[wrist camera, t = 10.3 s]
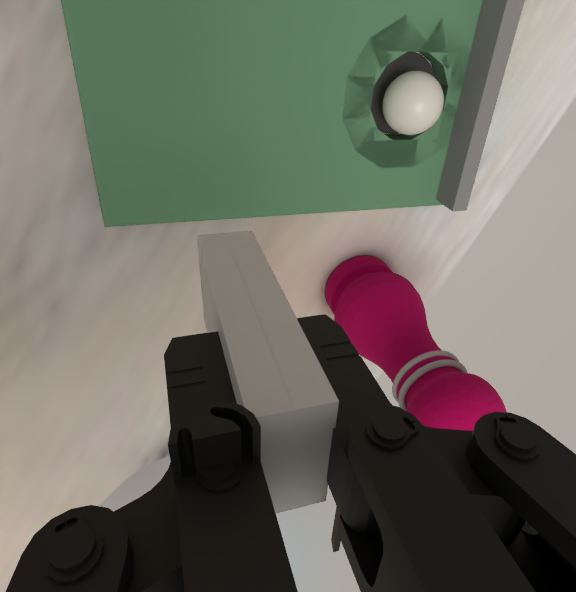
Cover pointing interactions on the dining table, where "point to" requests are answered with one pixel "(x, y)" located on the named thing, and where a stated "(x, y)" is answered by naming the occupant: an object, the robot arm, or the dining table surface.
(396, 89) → the ball
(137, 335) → the dining table surface
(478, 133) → the putting mat
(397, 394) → the pepper mill
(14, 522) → the dining table surface
